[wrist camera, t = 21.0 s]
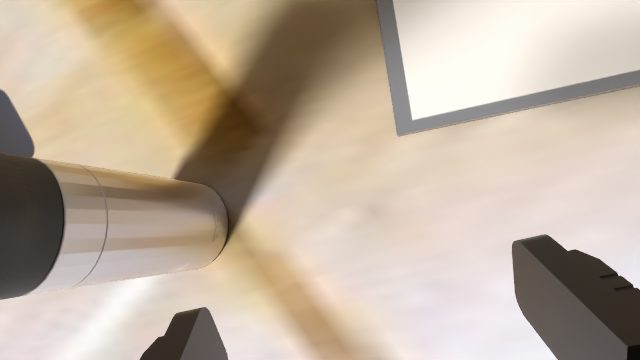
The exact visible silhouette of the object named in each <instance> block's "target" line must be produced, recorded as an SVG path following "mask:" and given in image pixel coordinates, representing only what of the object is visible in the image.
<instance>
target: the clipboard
mask: <svg viewBox="0 0 640 360" xmlns="http://www.w3.org/2000/svg"><path fill="white" fill-rule="evenodd" d="M376 2H377V9H378V15H379V21H380V28H381V34H382V41H383V47H384V54H385V60H386V66H387V73H388V79H389V86H390V92H391V98H392V105H393V111H394V118H395V124H396V130H397V135H398V137H399V136H403V135H408V134H413V133H418V132H422V131H427V130H432V129H437V128H441V127H446V126H451V125H456V124H461V123H465V122H470V121H475V120H480V119H484V118H489V117H494V116H499V115H503V114H508V113H513V112H518V111H523V110H527V109H532V108H537V107H542V106H546V105H551V104H556V103H561V102H565V101H570V100H575V99H580V98H585V97H589V96H594V95H599V94H604V93H608V92H613V91H618V90H623V89H627V88H632V87H637V86H640V0H376Z"/></svg>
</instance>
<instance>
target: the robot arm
mask: <svg viewBox="0 0 640 360" xmlns="http://www.w3.org/2000/svg"><path fill="white" fill-rule="evenodd" d="M227 231H228V217H227V211H226V208H225V206H224V203H223V201H222V200H221V198H220V196H219V195H218V194H217V193H216V192H215V191H214V190H213V189H211V188H210V187H208V186H207V185H203V184H200V183H194V182H188V181H181V180H175V179H169V178H163V177H156V176H150V175H143V174H137V173H130V172H123V171H117V170H110V169H104V168H97V167H91V166H84V165H78V164H70V163H63V162H57V161H50V160H44V159H37V158H31V157H25V156H19V155H12V154H7V153H3V152H0V300H1V299H7V298H14V297H20V296H27V295H33V294H39V293H46V292H52V291H59V290H64V289H70V288H77V287H83V286H90V285H96V284H103V283H109V282H116V281H122V280H128V279H135V278H141V277H148V276H154V275H161V274H168V273H175V272H181V271H187V270H194V269H199V268H202V267H204V266H206V265H208V264H209V263H211V262H212V261H213V260H214V259H215V258H216V257H217V256H218V254H219V253H220V251H221V250H222V248H223V246H224V243H225V240H226V237H227ZM512 258H513V271H514V285H515V294H516V299H517V302H518V304H519V307H520V309H521V311H522V313H523V315H524V316H525V318H526V319H527V320H528V322H529V323H530V324H531V325H532V327H533V328H534V329H535V331H536V332H537V333H538V334H539V336H540V337H541V338H542V340H543V341H544V342H545V344H546V345H547V346H548V347H549V349H550V350H551V351H552V353H553V354H554V355H555V356H556V358H557V359H558V360H640V290H639V289H638V288H634V287H633V284H631V283H630V282H629V281H627V280H626V279H625V278H623V277H622V276H618V274H617V272H615V271H614V270H613V269H612V268H610V267H609V266H608V265H606V264H605V263H604V262H602V261H601V260H600V259H598V258H595V257H593V256H590V255H588V254H585V253H583V252H581V251H578V250H576V249H575V250H570V251H567V250H566V249H564V248H563V247H562V246H561V245H560V244H558V243H557V242H556V241H555V240H554V239H552V238H551V237H550V236H548V235H540V236H535V237H531V238H526V239H521V240H517V241H514V242H513V244H512ZM140 360H228V357H227V352H226V349H225V347H224V345H223V342H222V340H221V337H220V335H219V333H218V330H217V328H216V325H215V323H214V320H213V318H212V316H211V313H210V311H209V310H208V309H207V308H206V307H203V308H198V309H193V310H189V311H184V312H180V313H176V314H175V315H174V317H173V319H172V321H171V323H170V325H169V327H168V329H167V331H166V333H165V335H164V336H162V337H158V338H157V339H156V340H155V341H154V342H153V344H152V345H151V346H150V347H149V348H148V349H147V350H146V351H145V352H144V353H143V354H142V356H141V358H140Z"/></svg>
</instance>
